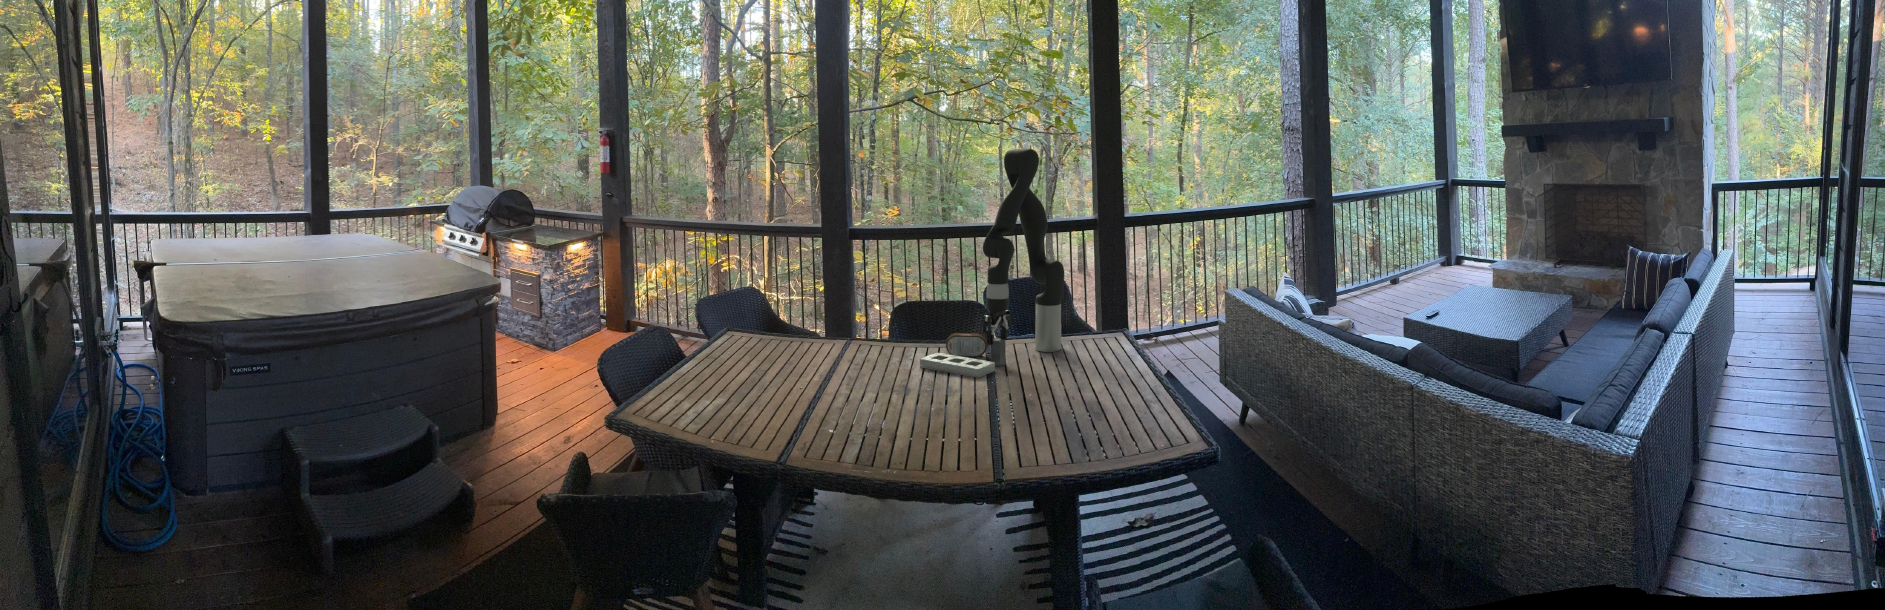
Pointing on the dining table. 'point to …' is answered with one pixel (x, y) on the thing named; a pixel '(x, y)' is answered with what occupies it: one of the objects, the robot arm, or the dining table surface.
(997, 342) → the square peg
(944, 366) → the rail
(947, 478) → the dining table surface
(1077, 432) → the dining table surface
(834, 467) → the dining table surface
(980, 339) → the tin
